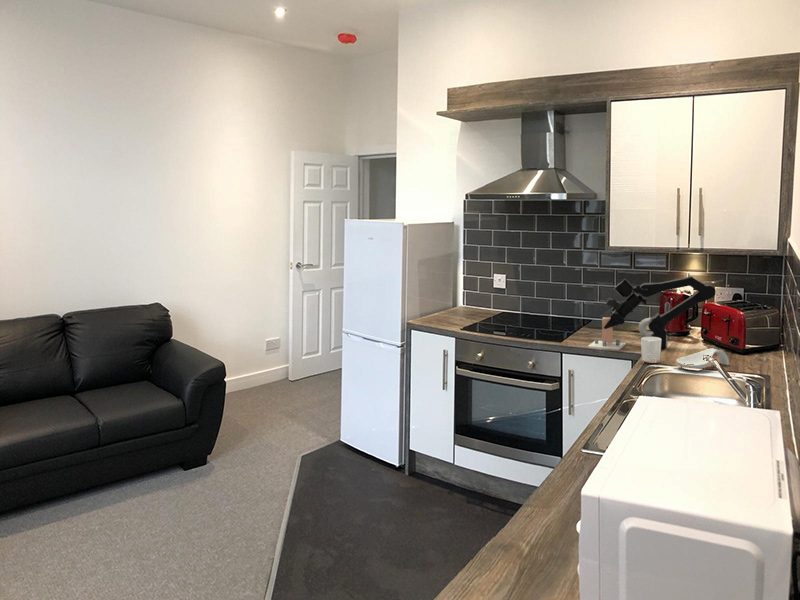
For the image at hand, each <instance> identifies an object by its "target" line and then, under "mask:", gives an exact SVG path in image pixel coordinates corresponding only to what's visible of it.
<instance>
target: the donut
mask: <svg viewBox="0 0 800 600" xmlns="http://www.w3.org/2000/svg"><path fill="white" fill-rule="evenodd" d="M650 319H651V318H650V317H648V318H647V317H646V318H644V319H642V320H641V321H640V322H639V324H638V331H639V333H640V335H642V336H643V337H652V334H654V333H653V332H652V331H651V330H647V327H648V321H649V320H650Z"/></svg>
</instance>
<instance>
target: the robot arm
mask: <svg viewBox="0 0 800 600" xmlns="http://www.w3.org/2000/svg"><path fill="white" fill-rule="evenodd" d="M685 287H691V288H692V289H694V290H695V291H694V293H692V295H691V296H690V297H688V298H686V299H685V300H683V301H682V302H680V303H679V304H677V305H675V306H673V307H672V308H671V309H669V310H668V311H666V312H665V313H662V314H660V313H659V312H657V313H655V314H654V315H653V316H649V318H651V319H650V320H649V321H648V325H647V327H648V329H649V331H652V332H653V333H654V334H652V337H658V338H661V339H662V340H661V350H664V349H665V350H666V349H667V348H668V330H667V329H666V326H667V325H668V324H669V323H670V322H671V321H673V320H674V319H675V318H677V317H678V316H680V315H682V314H684V313H685V312H686V311H688V310H689V309H691V308H692V307H694V306H696V305H698V304H699V303H703V302H705V301H709V300H711V299H713V298H714V297H715V295H716V293H717V291H716V288H715V287H713V286H712V285H711V284H707V283H706V284H704V283H703V282H701V281H699V280H697V279H696V278H694V277H693V276H691V275H689V276H686V277H681V278H677V279H671V280H667V281H662V282H643V283H642V284H640V285H635V286H633V285H632V284H631V283H630V282H629V281H628V280H627V279H626V278H624V279H622V281H620V282H618V284H617V285H616V286H615V287H614V288H613V290H614V291H615V292H616V293H617V294H618V295H620V297H622V298H626V299H625V300H622V301H618V300H617V299H614V298H611V297H608V299H607V300H606V302H605V305H606V306H608V307H611V310H610V316H609V317H611V318H610V320H609V321H608V322H607V324H606V325H605V326H604V329H607V328H610V327H613V328H614V327H615V326H616V327H617V326H619V325H623V324H624V323H625V321H626V318H627V317H628V315H630V314H631V313H633V312H634V310H635V309H636V308H637V307H639V306H640V305H641V304H644V305H645V306H646V305H647V300H648V299H647V298H649V297H651V296H654V295H656V294H659V293H661V292H665V291H670V290H676V289H679V288H680V289H681V288H685Z"/></svg>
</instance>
